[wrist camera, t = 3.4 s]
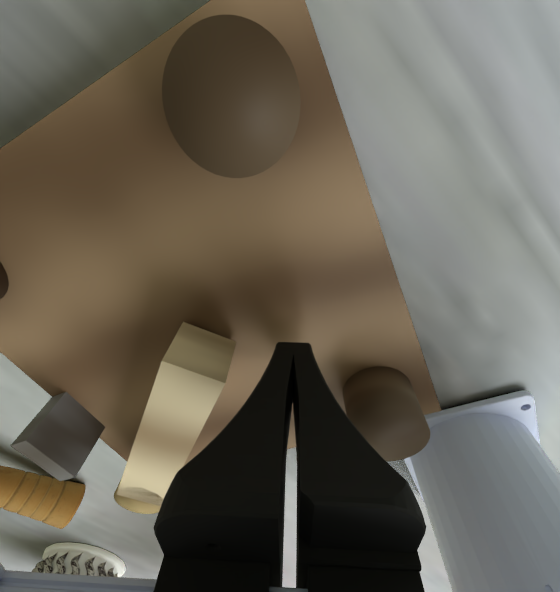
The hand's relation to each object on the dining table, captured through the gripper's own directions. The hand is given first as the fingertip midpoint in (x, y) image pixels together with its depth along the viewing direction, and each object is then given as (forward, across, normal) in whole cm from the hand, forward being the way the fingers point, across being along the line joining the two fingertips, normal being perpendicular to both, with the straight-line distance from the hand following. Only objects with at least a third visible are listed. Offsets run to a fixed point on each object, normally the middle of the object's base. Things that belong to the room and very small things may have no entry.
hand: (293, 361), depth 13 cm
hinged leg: (+1, +6, +4) cm, 7 cm away
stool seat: (+3, +5, 0) cm, 6 cm away
